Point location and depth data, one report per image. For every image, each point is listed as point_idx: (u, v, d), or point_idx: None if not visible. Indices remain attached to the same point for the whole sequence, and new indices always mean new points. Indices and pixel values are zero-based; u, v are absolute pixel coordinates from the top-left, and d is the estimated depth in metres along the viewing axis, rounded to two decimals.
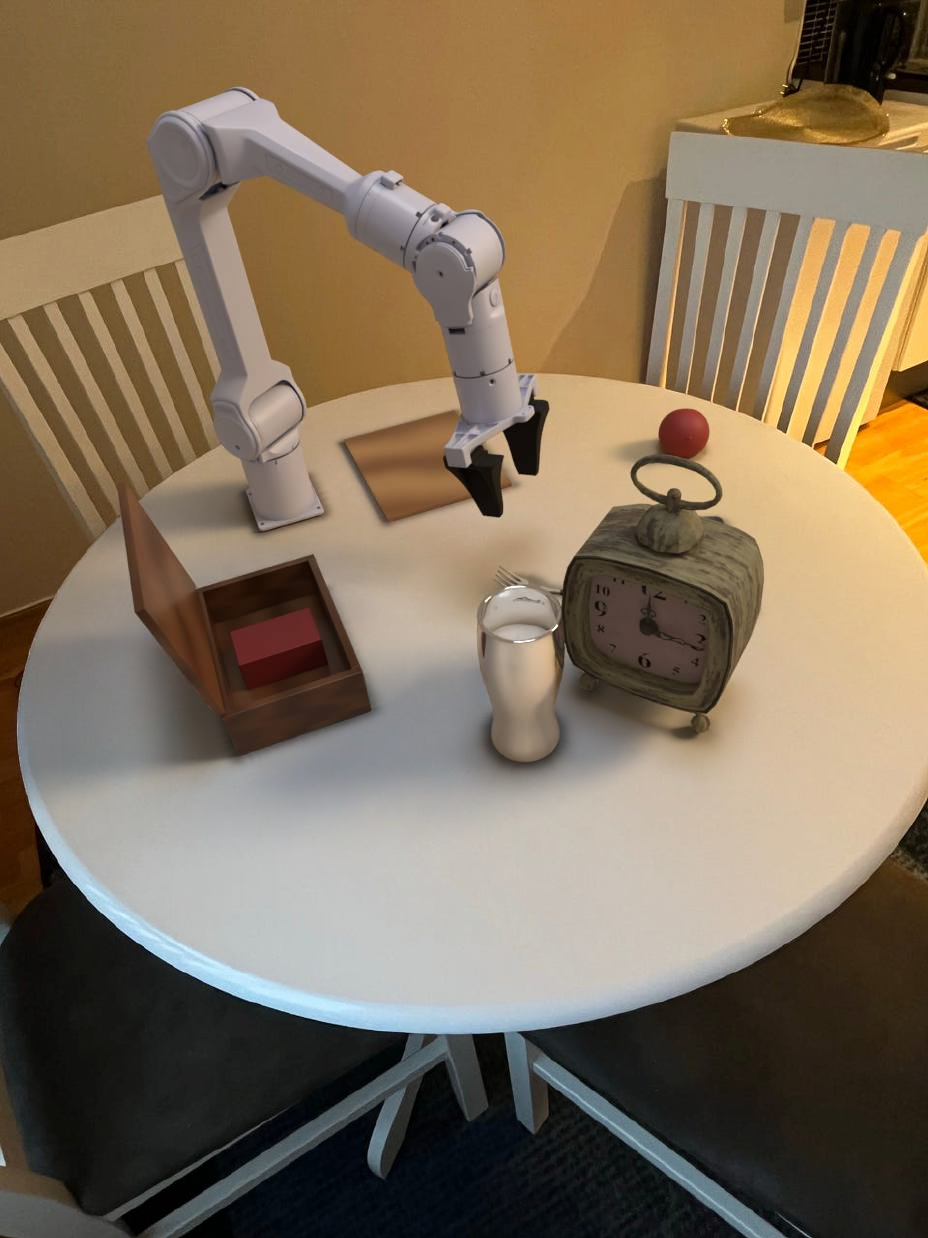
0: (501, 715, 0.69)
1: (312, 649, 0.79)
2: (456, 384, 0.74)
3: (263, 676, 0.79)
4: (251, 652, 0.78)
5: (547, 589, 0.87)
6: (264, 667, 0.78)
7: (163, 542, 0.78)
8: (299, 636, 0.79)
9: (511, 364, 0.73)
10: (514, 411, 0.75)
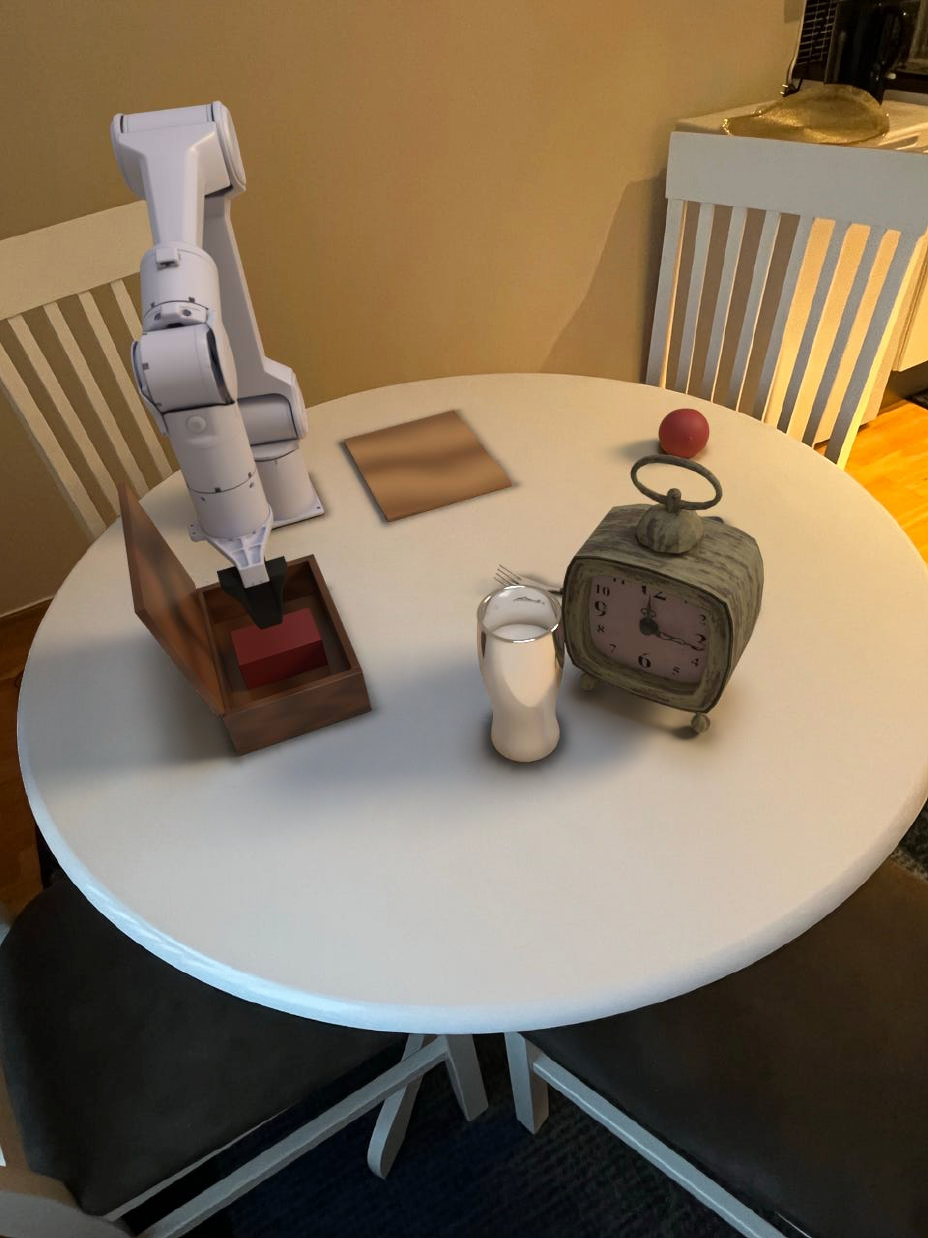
0: (501, 715, 0.69)
1: (312, 649, 0.79)
2: None
3: (263, 676, 0.79)
4: (251, 652, 0.78)
5: (547, 587, 0.87)
6: (264, 667, 0.78)
7: (163, 542, 0.78)
8: (299, 636, 0.79)
9: (186, 485, 0.66)
10: None
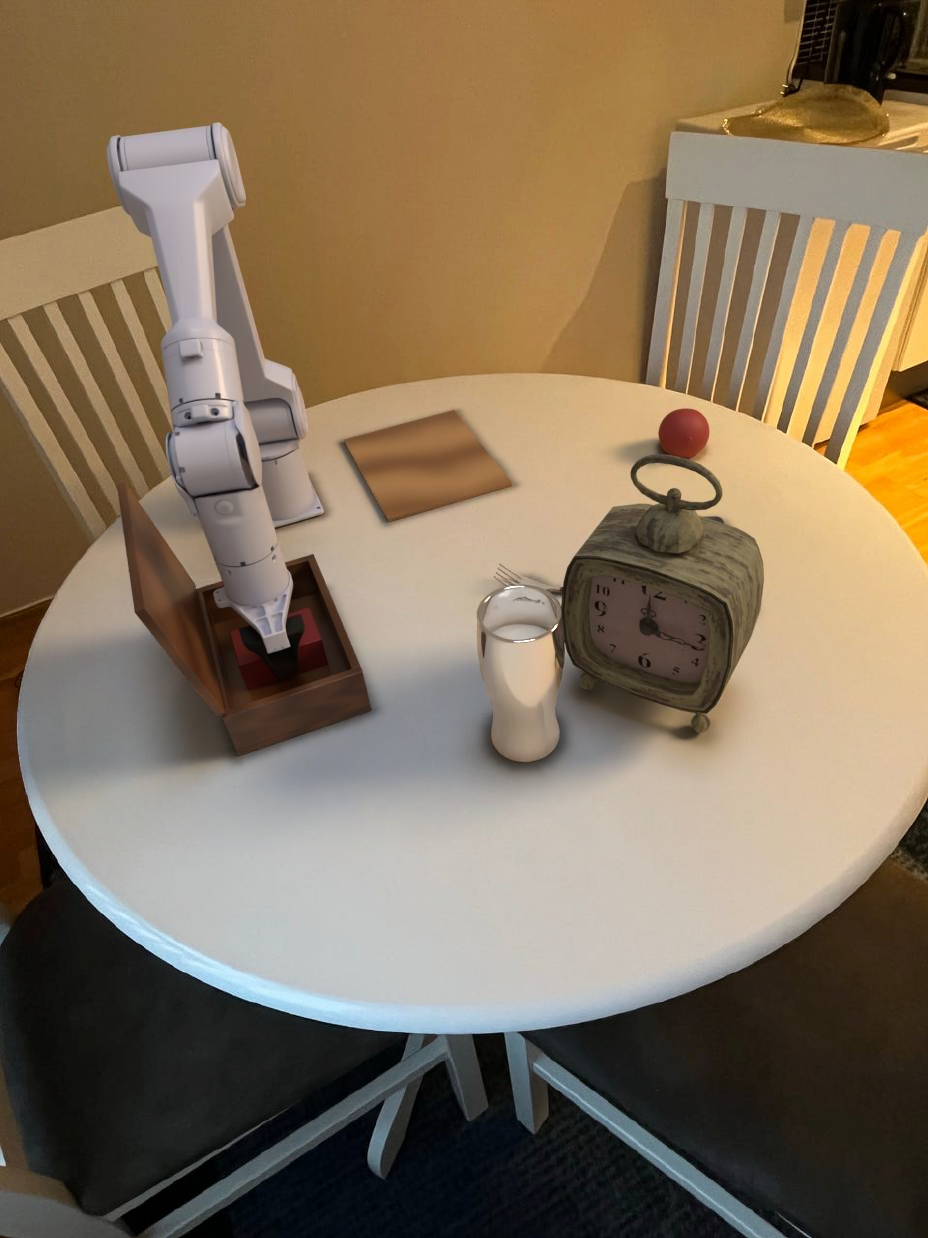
0: (501, 715, 0.69)
1: (312, 649, 0.79)
2: None
3: (263, 676, 0.79)
4: (251, 652, 0.78)
5: (547, 586, 0.87)
6: (264, 667, 0.78)
7: (163, 542, 0.78)
8: None
9: None
10: None
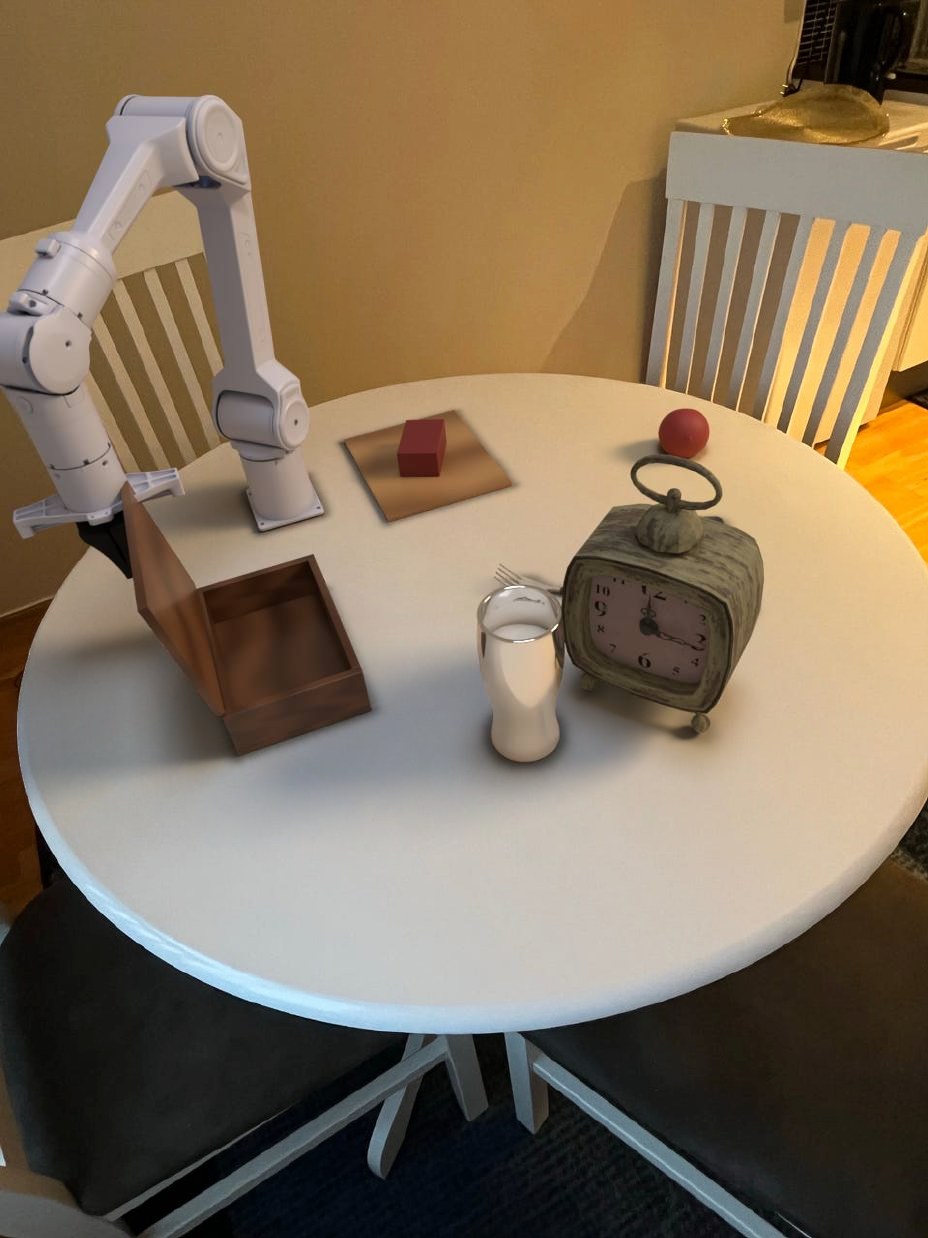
0: (501, 715, 0.69)
1: (443, 429, 1.07)
2: None
3: (440, 460, 1.04)
4: (428, 446, 1.03)
5: (547, 587, 0.87)
6: (439, 451, 1.04)
7: (164, 542, 0.78)
8: (432, 426, 1.06)
9: (82, 468, 0.70)
10: (89, 510, 0.73)
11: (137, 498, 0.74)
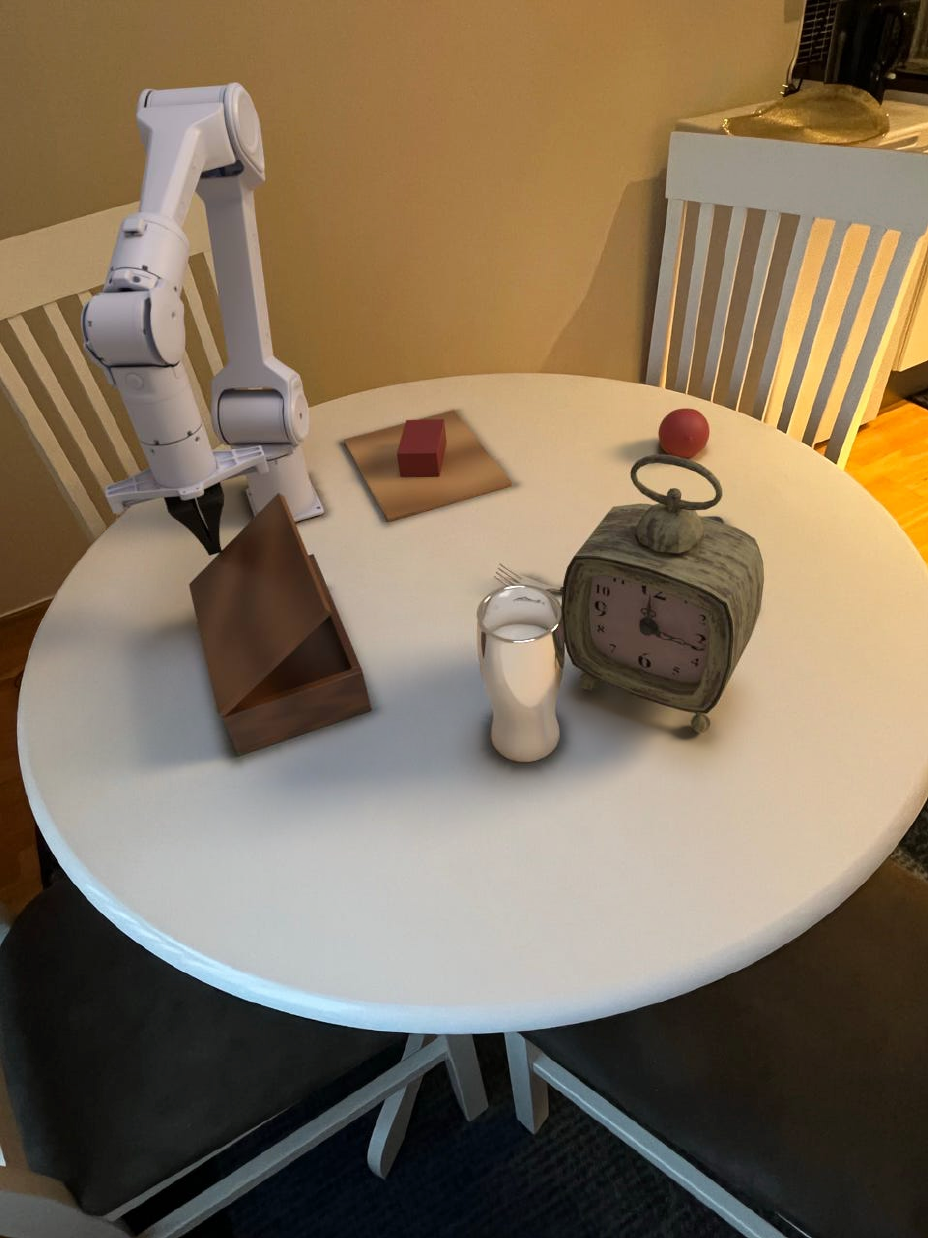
0: (501, 715, 0.69)
1: (443, 429, 1.07)
2: None
3: (440, 460, 1.04)
4: (428, 446, 1.03)
5: (547, 586, 0.87)
6: (439, 451, 1.04)
7: None
8: (432, 426, 1.06)
9: (177, 443, 0.72)
10: (181, 485, 0.74)
11: (225, 474, 0.76)
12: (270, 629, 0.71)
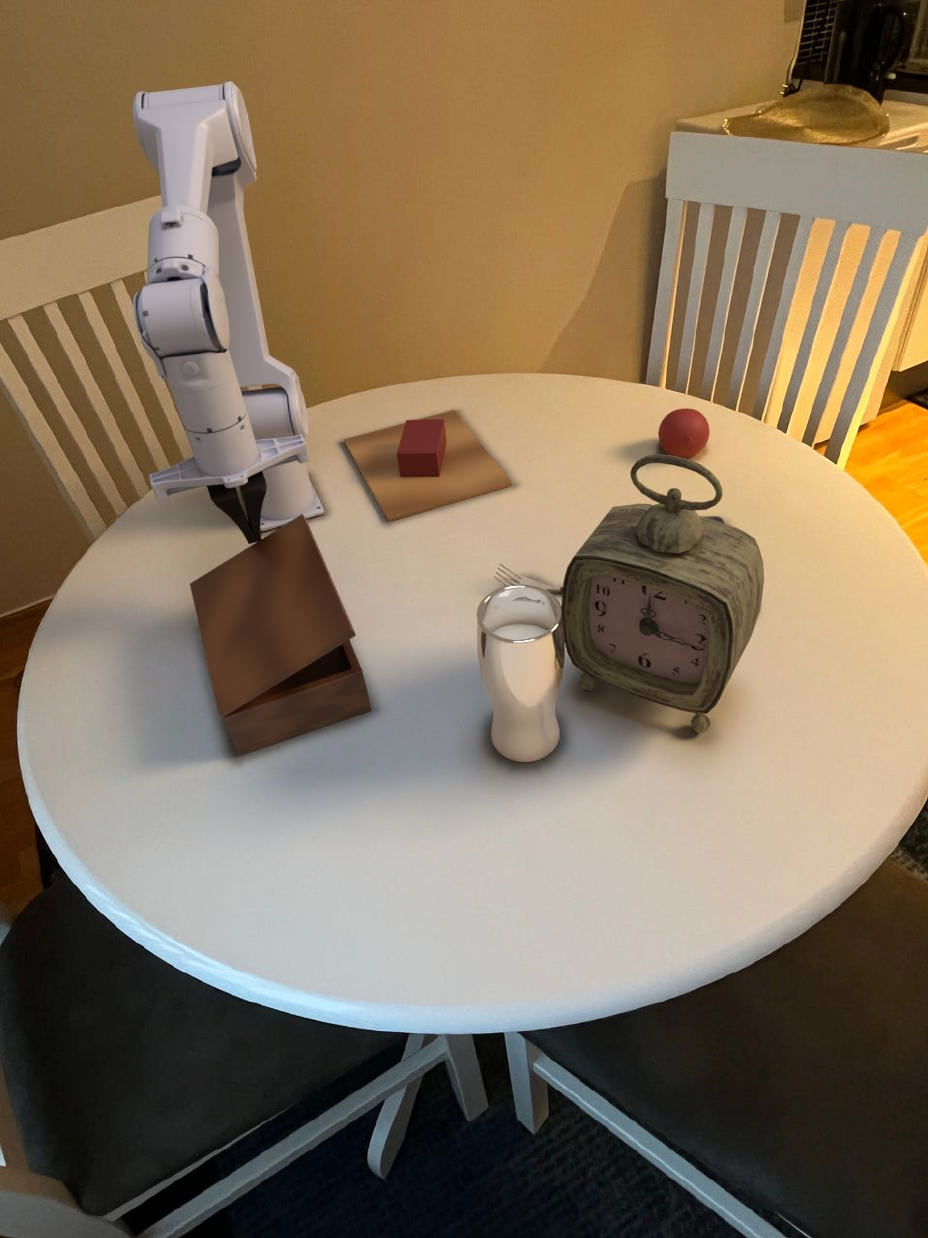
0: (501, 715, 0.69)
1: (443, 429, 1.07)
2: None
3: (440, 460, 1.04)
4: (428, 446, 1.03)
5: (547, 587, 0.87)
6: (439, 451, 1.04)
7: None
8: (432, 426, 1.06)
9: (223, 431, 0.73)
10: (225, 473, 0.75)
11: (268, 463, 0.77)
12: (287, 640, 0.73)
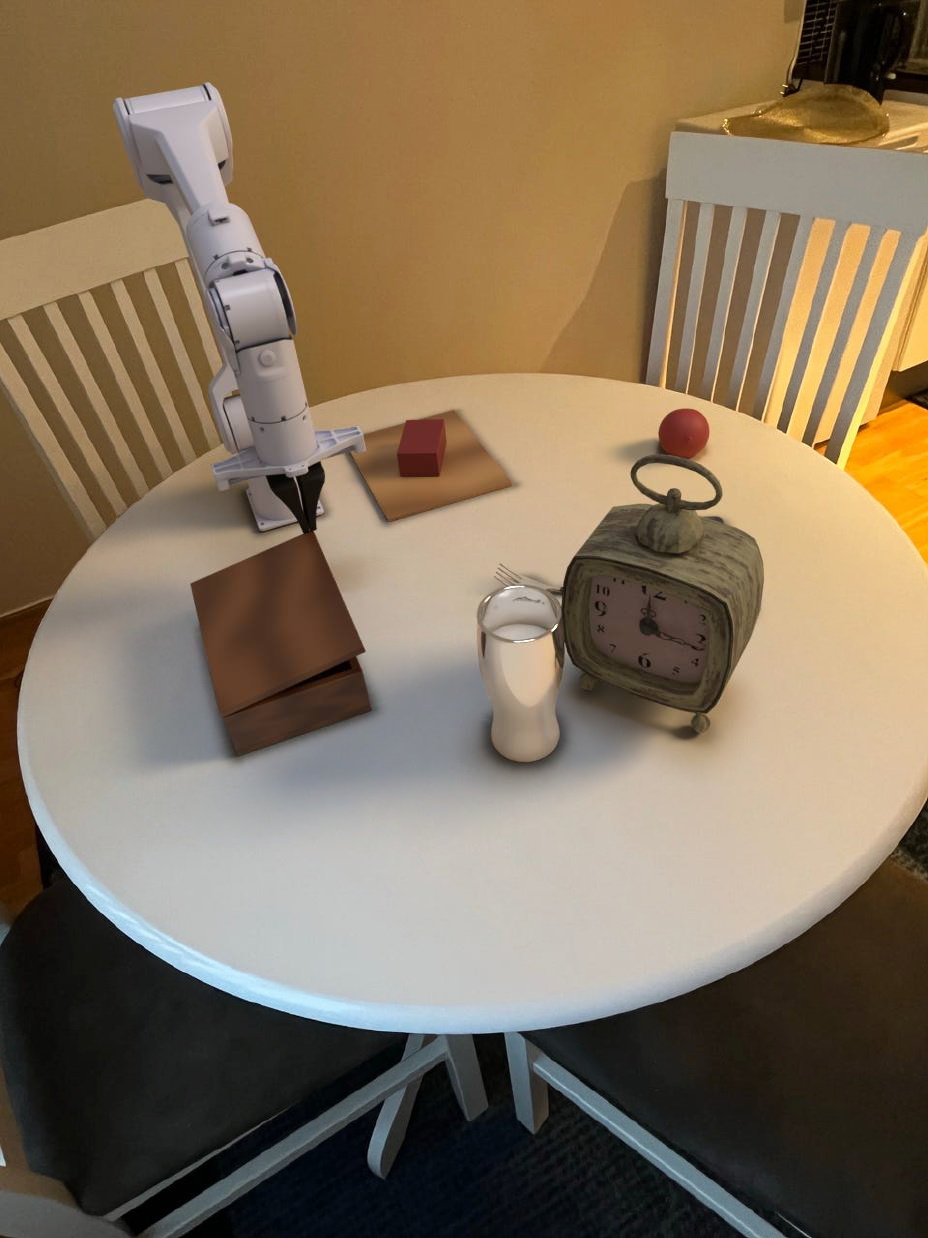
0: (501, 715, 0.69)
1: (443, 429, 1.07)
2: None
3: (440, 460, 1.04)
4: (428, 446, 1.03)
5: (547, 586, 0.87)
6: (439, 451, 1.04)
7: None
8: (432, 426, 1.06)
9: (286, 422, 0.74)
10: (286, 463, 0.77)
11: (327, 453, 0.79)
12: (294, 648, 0.74)
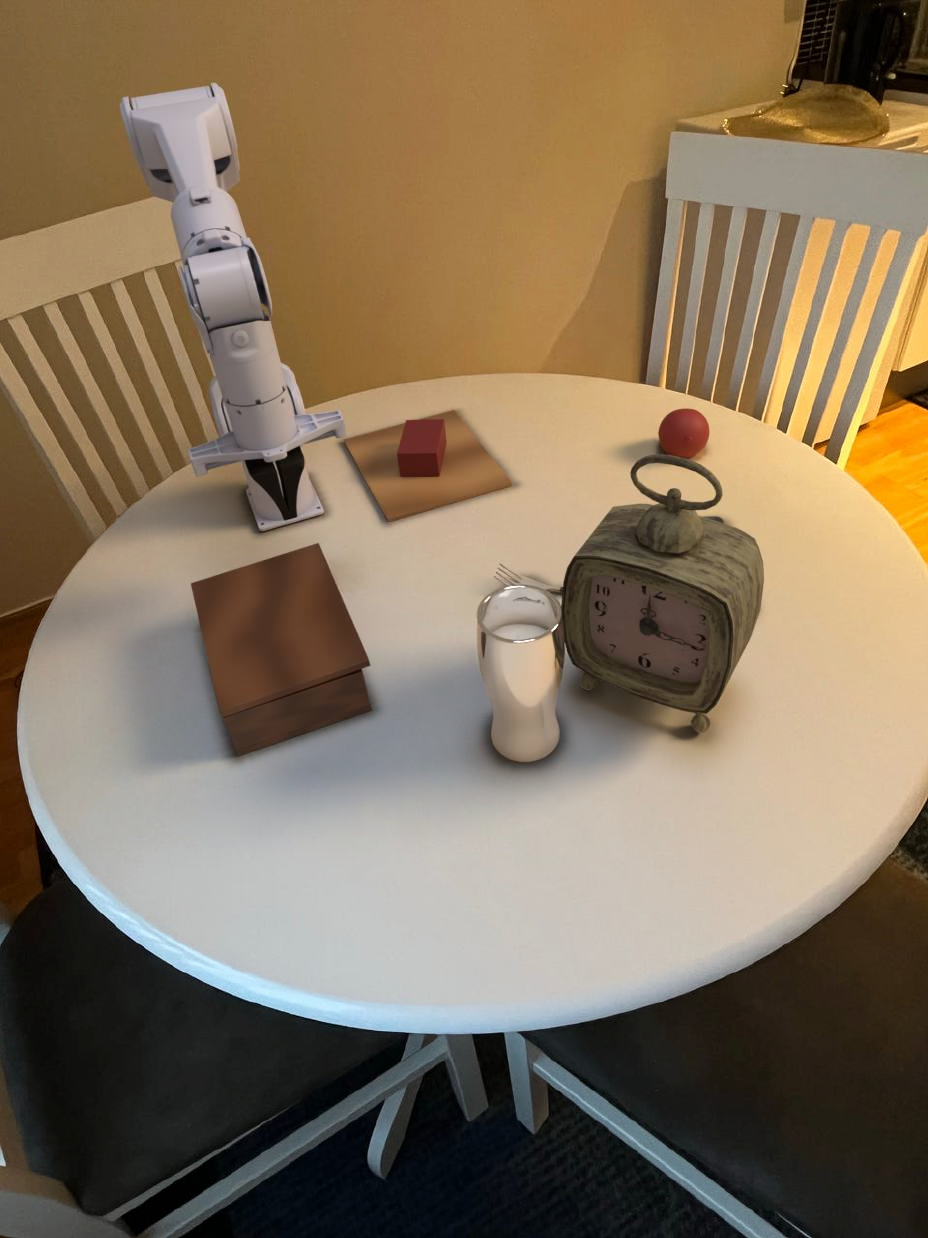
0: (501, 715, 0.69)
1: (443, 429, 1.07)
2: None
3: (440, 460, 1.04)
4: (428, 446, 1.03)
5: (547, 586, 0.87)
6: (439, 451, 1.04)
7: None
8: (432, 426, 1.06)
9: (264, 404, 0.72)
10: (264, 447, 0.75)
11: (307, 437, 0.77)
12: (298, 656, 0.74)
